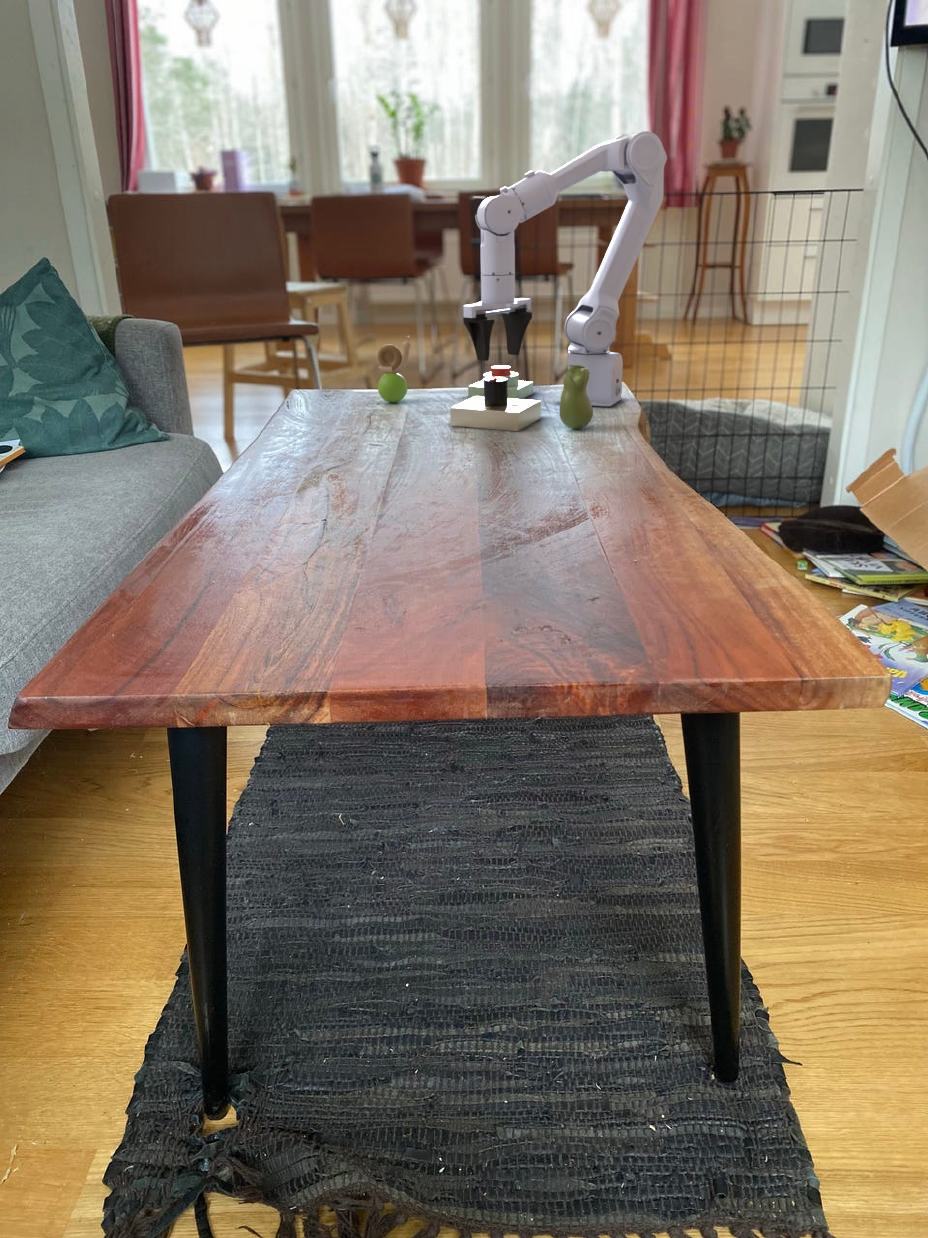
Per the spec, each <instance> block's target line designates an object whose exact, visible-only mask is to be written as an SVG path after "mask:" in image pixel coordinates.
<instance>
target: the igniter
mask: <svg viewBox="0 0 928 1238" xmlns="http://www.w3.org/2000/svg"><path fill="white" fill-rule="evenodd" d="M490 377H504V378H507V379H508V398H509V399H525V398H527V397H529V396H531V395H533V394H534V381H526V380H525V381H524V380H520V379H519V378H520V374H519V372H515V371H511V375H509V376H492V375H491V371H489V372H485V373H483V374H482V380H480V381H477V382H475V383H473V384H470V385H468V386H467V395H468V396H467V398H468V399H470V398H473V397H475V396H479V397H484V381H483V380H484V379H485V378H490Z"/></svg>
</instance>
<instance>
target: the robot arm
mask: <svg viewBox="0 0 928 1238" xmlns="http://www.w3.org/2000/svg"><path fill="white" fill-rule="evenodd" d="M667 160H668V155H667V152H666V150H665V148H664V145H663V143H662V141H661V139H660V137H659V136H658V135H657V134H656V133H654V132H652V131H647V130H645V131H643V130H642V131H640V132H637V133H632V134H620V135H618V136H616V137H614V139H609V140H606V141H604V142H602V143H599V144H597V145H595V146H593V147H592V148H590V149H589V150H587V151H585V152H583V153H582V154H580V155H579V156H577V157H576V158H574V159H572V160H571V161H569V162H567V163H566V164H564V165H563V166H561V167H559V168H557V169H556V170H554V171H552V172H550V173H548V172H545V171H543V170H537V171H536V172H535V171H534V170H529V171H528V172H526V173H524V177H525V178H523V179H522V180H520V181H518V182H516V183H514V184H513V185H511V186H509V187H507V186H503V187H501V188H500V189H499V192H500V193H499V194H498V195H494V196H493V195H492V196H489V197H486V198H485V199H484V200H482V201H481V203H480V204H479V206H478V208H477V211H476V214H475V215H474V218H475V222H476V225H477V227H478V228H479V230H480V246H479V247H480V251H479V252H480V253H479V254H480V301H478V302H474V303H470V304H464V305H463V306H462V307H463V317H462V323H463V324H464V326H465V328H466V330H467V331H468V333H469V336H470V339H471V341H472V343H473V347H474V351H475V355H476V358H477V361H481V362H482V361H483V362H487V361H489V359H490V351H491V349H490V348H491V336H492V331H493V327H494V323H495V319H492V318H491V319H490V318H488V316H493V315H499V314H501V317H502V320H503V324H504V329H505V335H506V350H507V355H510V356H520V352H521V348H522V343H523V339H524V336H525V333H526V331H527V329H528V326H529V324H530V322H531V320H532V319H533V312H532V311H531V310H532V298H529V297H519V298H516V295H515V294H516V245H515V230H517V228H518V226H519V224H522V223H524V222H526V221H527V220H529V219H531V218H533V217H534V216H536V215H539V214H540V213H541V212H543V211H545V210H548V209H549V208H551V207H552V206H554V205H555V204H556V202H557V198H558V196H559V194H560V193H561V192H562V191H564V190H567V189H569V188H571V187H573V186H574V185H577V184H578V183H580V182H582V181H584V180H586V179H588V178H589V177H592V176H594V175H596V174H597V173H599V172H604V173H605V172H612V173H613V176H615V178H617V180H618V181H619V182H620V183H621V185H622V186H623V189H624V192H625V194H626V197H627V199H628V200H627V201H628V202H627V204H626V206H625V209H624V211H623V214H622V215H621V217H620V218H621V219H619V220H620V221H619V223H618V225H617V227H616V230H615V231H614V233H613V236H612V239H611V241H610V243H609V246H608V247H607V250H606V252H605V254H604V258H603V259H602V262H601V264H600V266H599V268H598V271H597V273H596V275H595V278H594V280H593V282H592V285H591V287H590V289H589V291H587V293H585V295H584V296H583V297H582V298H581V299H580V300H579V302H578V304H577V306H576V308H575V309H574V310H573V311H572V312H571V313H570V314H569V315H568V316H567V318H566V319H565V321H564V322H565V323H564V328H563V331H564V335H565V337H566V340H567V341H568V342H569V346H568V352H567V353H568V356H567V357H568V359H567V370H568V369H569V366H570V365H581V366H583V367H585V368H588V370H589V380H588V383H587V386H586V392H587V395H588V398H589V400H590V403H591V405H592V407H611V406H613V405H615V404H616V403H619V401H621V400H622V399H623V396H622V393H623V390H622V389H623V371H624V370H623V369H624V365H623V364H624V363H623V361H624V360H623V356H622V353H620V352H612V351H610V346H611V345H612V344H613V342H614V340H615V337H616V325H617V321H618V319H619V317H620V309H619V308H620V307H619V300H620V299H621V295H622V294H623V292H624V290H625V287H626V286H627V282H628V280H629V279H630V276H631V273H632V271H633V269H634V266H635V265H636V262H637V260H638V258H639V256H640V254H641V251H642V249H643V246H644V244H645V242H646V240H647V238H648V235H649V234H650V231H651V229H652V226H653V224H654V222H655V219H656V218H657V214H658V213H659V210H660V209H661V206H662V204H663V200H664V183H665V182H664V173H665V171H664V170H665V169H664V168H665V165H666V162H667Z"/></svg>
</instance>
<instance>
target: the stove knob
mask: <svg viewBox="0 0 928 1238" xmlns="http://www.w3.org/2000/svg"><path fill="white" fill-rule="evenodd" d="M482 380H483V379H482ZM483 381H484V404H485V405H488V406H503V405H507V404H508V379H507V378H504V377H490V378H485V379H484V380H483Z"/></svg>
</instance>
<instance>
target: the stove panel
mask: <svg viewBox="0 0 928 1238" xmlns="http://www.w3.org/2000/svg"><path fill="white" fill-rule="evenodd" d="M449 410H450V411H449V413H450V415H449V416H450V426H451V427H463V428H473V429H486V430H487V429H489V430H499V431H511V432H519V431H521V430H523V429H525V428H526V427H528V426H530V425H532V424H533V423H534V422H536V421H538V420H540V419H541V400H536V399H525V398H523V399H509V398H508V404H507V405H503V406H488V405H485V404H484V397H479V396H475V397H473V398H468V399H466V400H464V401H461V402H459V403H458V404H455V405H452V406H451V407H449Z"/></svg>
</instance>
